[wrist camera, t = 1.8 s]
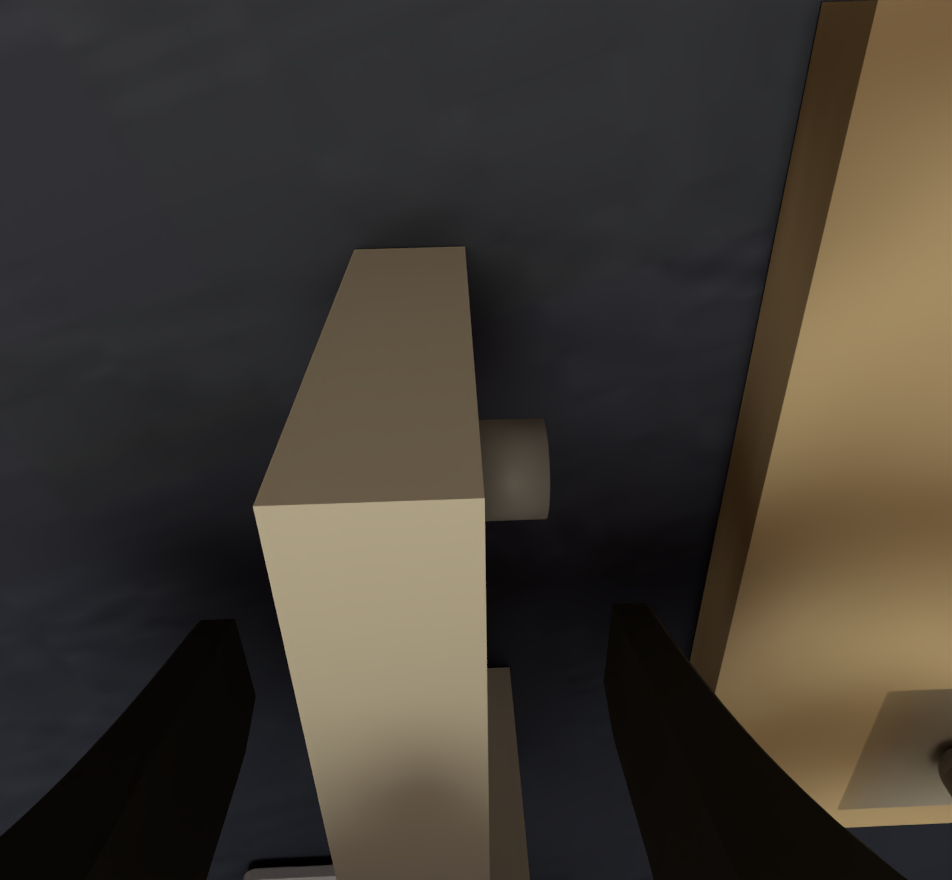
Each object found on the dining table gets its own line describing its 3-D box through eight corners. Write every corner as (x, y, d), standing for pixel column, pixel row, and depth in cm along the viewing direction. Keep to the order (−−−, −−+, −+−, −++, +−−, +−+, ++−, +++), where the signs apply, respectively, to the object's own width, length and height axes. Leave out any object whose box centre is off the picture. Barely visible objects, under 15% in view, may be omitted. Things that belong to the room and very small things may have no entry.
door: (508, 757, 18) (538, 1114, 12) (378, 762, 18) (344, 1124, 12) (513, 245, 12) (586, 494, 6) (304, 251, 11) (148, 509, 5)
